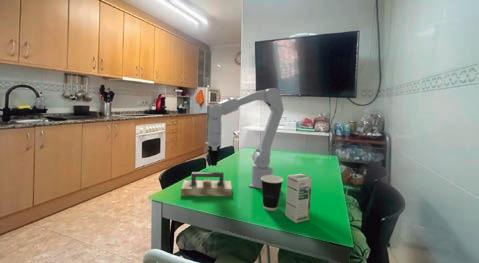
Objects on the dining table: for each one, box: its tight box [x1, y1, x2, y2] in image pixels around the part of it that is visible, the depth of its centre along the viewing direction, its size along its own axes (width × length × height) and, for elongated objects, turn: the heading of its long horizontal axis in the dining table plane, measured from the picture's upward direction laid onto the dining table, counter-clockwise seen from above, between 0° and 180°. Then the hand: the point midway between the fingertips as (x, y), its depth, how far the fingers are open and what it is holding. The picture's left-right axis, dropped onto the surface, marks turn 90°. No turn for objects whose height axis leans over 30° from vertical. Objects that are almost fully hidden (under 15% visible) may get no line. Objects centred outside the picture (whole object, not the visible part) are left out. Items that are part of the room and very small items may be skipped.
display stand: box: [180, 178, 233, 197], centre depth 102 cm, size 20×10×5 cm, turn 95°
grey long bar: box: [190, 171, 224, 185], centre depth 102 cm, size 13×2×4 cm, turn 95°
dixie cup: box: [261, 174, 284, 212], centre depth 89 cm, size 8×8×11 cm
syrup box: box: [285, 173, 313, 224], centre depth 81 cm, size 6×6×14 cm
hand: (214, 163), depth 108 cm, fingers open, 7 cm apart
